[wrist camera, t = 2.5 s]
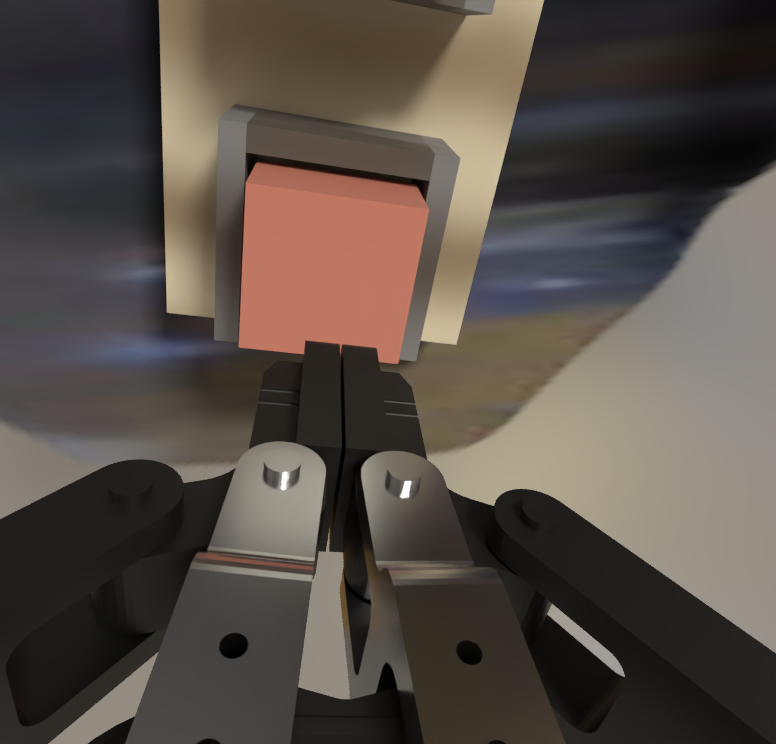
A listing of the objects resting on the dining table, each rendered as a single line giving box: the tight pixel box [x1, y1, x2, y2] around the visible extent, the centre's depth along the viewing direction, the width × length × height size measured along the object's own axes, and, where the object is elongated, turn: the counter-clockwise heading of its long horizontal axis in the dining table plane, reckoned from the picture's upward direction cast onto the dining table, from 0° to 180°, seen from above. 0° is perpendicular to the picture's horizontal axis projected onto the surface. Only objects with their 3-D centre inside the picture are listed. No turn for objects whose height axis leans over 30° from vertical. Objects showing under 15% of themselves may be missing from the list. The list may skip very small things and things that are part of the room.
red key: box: [239, 160, 429, 364], centre depth 18 cm, size 5×5×3 cm
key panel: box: [159, 0, 544, 361], centre depth 19 cm, size 20×12×6 cm, turn 171°
